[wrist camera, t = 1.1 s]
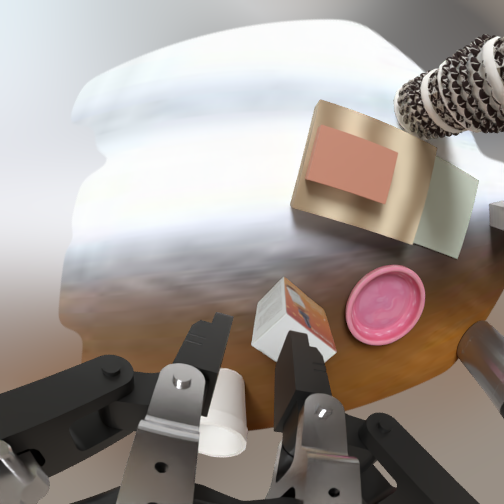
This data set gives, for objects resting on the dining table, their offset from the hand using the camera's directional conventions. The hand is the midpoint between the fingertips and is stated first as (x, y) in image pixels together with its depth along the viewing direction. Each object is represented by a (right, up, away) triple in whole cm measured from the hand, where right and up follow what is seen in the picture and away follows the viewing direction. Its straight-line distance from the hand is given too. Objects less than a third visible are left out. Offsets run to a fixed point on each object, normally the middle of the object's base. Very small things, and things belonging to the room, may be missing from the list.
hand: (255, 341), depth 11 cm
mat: (+27, +10, +21) cm, 36 cm away
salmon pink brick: (+11, +13, +17) cm, 24 cm away
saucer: (+19, -3, +26) cm, 32 cm away
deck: (+14, +14, +21) cm, 29 cm away
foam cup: (-5, -18, +32) cm, 37 cm away
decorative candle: (+23, +23, +18) cm, 37 cm away
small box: (+5, -4, +27) cm, 28 cm away
